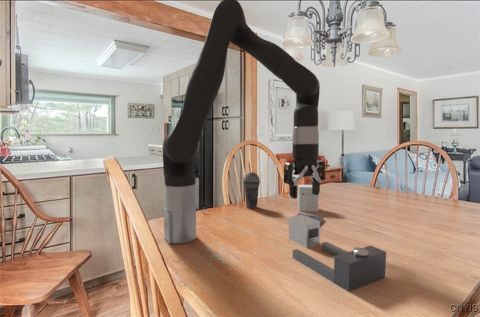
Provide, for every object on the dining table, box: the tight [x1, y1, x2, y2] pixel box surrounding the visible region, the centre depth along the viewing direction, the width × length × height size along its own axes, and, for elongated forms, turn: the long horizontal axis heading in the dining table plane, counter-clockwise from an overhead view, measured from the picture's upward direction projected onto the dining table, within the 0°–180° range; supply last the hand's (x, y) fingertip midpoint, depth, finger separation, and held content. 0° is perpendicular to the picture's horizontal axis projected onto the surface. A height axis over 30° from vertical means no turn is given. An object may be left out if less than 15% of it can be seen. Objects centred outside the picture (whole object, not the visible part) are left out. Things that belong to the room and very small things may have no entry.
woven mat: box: [295, 212, 325, 225], centre depth 103 cm, size 10×11×2 cm
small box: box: [297, 184, 319, 213], centre depth 118 cm, size 8×6×10 cm
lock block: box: [288, 214, 321, 249], centre depth 83 cm, size 5×8×7 cm, turn 28°
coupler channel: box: [292, 241, 387, 292], centre depth 68 cm, size 12×18×7 cm, turn 28°
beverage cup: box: [243, 162, 261, 210], centre depth 122 cm, size 7×7×20 cm
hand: (304, 196), depth 83 cm, fingers open, 8 cm apart
